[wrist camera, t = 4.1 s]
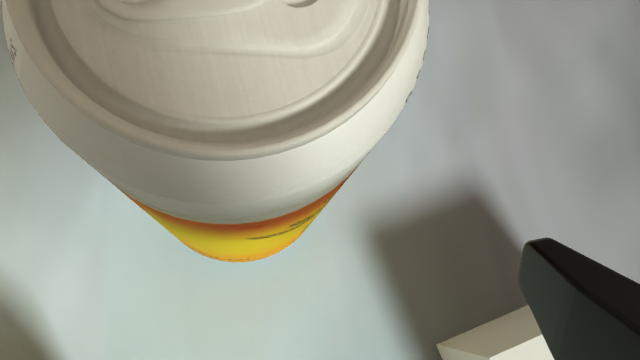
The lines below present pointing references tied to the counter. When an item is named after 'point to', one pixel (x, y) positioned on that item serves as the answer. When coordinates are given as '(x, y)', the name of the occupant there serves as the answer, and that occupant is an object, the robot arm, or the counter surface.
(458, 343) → the cream plastic block
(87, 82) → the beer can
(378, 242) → the counter surface
